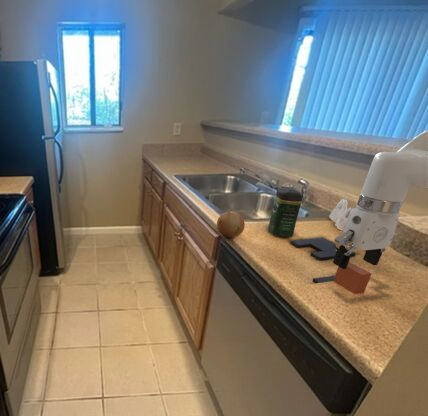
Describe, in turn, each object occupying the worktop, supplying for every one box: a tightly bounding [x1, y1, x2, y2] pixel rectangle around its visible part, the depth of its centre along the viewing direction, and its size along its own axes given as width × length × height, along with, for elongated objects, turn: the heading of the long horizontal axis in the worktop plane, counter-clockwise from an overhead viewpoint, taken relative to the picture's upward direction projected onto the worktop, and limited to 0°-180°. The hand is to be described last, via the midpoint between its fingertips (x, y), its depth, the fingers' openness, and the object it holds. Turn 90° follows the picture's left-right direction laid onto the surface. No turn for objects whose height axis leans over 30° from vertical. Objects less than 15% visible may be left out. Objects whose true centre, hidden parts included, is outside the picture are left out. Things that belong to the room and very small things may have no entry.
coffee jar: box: [267, 185, 304, 239], centre depth 105 cm, size 10×8×19 cm
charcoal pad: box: [289, 236, 357, 262], centre depth 96 cm, size 14×12×1 cm
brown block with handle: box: [311, 261, 372, 295], centre depth 75 cm, size 16×10×7 cm, turn 100°
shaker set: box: [328, 198, 355, 232], centre depth 112 cm, size 12×4×11 cm, turn 162°
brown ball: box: [216, 211, 246, 238], centre depth 105 cm, size 10×10×10 cm
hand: (354, 264), depth 73 cm, fingers open, 9 cm apart
